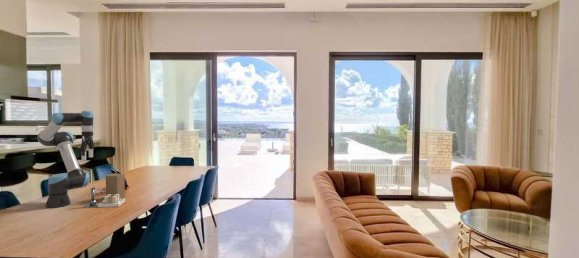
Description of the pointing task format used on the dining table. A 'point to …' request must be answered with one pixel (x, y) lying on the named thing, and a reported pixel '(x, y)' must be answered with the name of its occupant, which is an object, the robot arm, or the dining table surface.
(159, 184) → the dining table surface
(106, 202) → the collar
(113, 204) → the tray
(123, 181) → the wooden block
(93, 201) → the grey lever faucet
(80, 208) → the dining table surface
